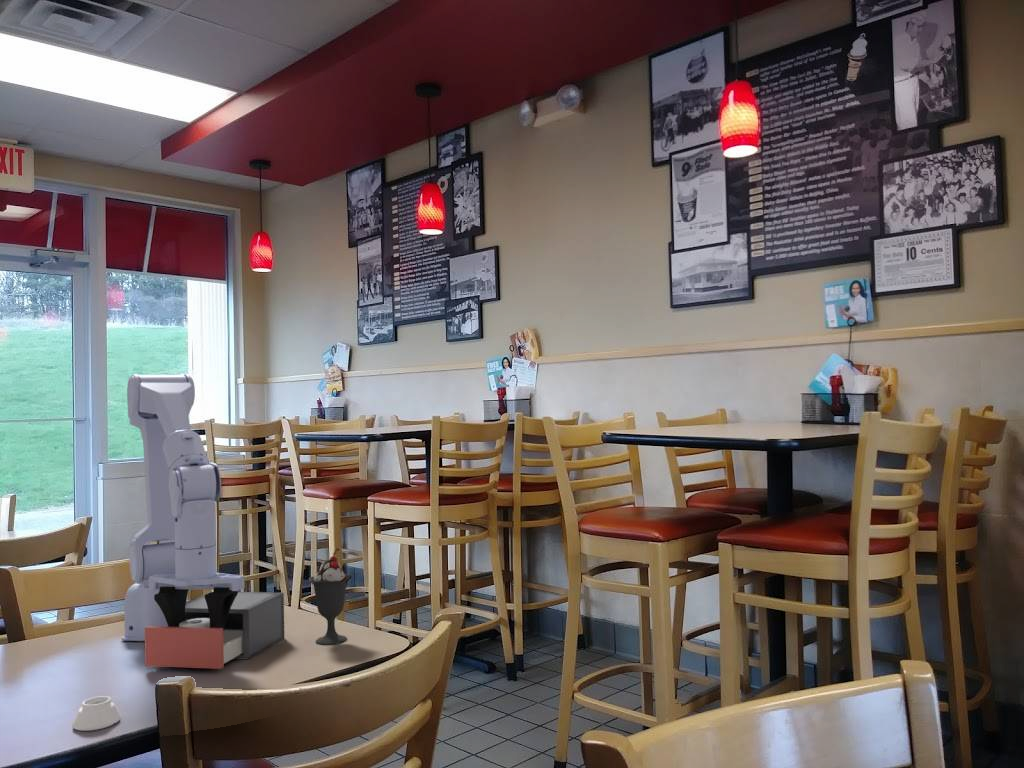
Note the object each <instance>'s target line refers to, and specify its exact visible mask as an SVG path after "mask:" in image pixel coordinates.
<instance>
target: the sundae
mask: <svg viewBox="0 0 1024 768" xmlns="http://www.w3.org/2000/svg"><path fill="white" fill-rule="evenodd" d="M339 551H340V548H339V547H336V549H335V550H334V552H333V555H332V556H330V557H329V559H327V560H325V561H324V562H319V563H318V566H317V572H316V574H315V575H314V576H310V577H309V578H308V581H309V583H310V584H312V585H313V589H314V594H315V595H314V596H315V600H316V601H315V602H316V607H317V611H318V614H320V616H321V617H323V618H324V619H326V621H327V626H326V627H327V630H326V633H325V634H324V636H321V637H318V638H317V639H316V640H315V643H316V644H317V645H322V646H332V645H337V644H338V643H339V644H342V643H344V642H346V641H347V640H348V637H347V636H345V635H342V634H339V633H337V631H336V627H335V626H336V625H335V621H336V618H337V617H339V616H340V615H341V613H342V612H343V610H344V608H345V607H344V606H345V601H346V590H347V585H348V582H349V581H350V580H351V579H352V575H351V574H345V572H344V570H343V568H342V566H341V564H340V562H338V557H337V556H336V554H337V552H339Z"/></svg>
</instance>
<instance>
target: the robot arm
mask: <svg viewBox="0 0 1024 768" xmlns="http://www.w3.org/2000/svg"><path fill="white" fill-rule="evenodd" d="M127 381H128V382H127V388H126V393H127V394H126V399H127V401H126V402H127V403H126V404H127V417H128V420H129V425H131V426H133V427H135V428H138V429H139V430H140V434H141V438H142V439H141V440H142V447H143V463H144V465H143V466H144V478H145V479H144V480H145V481H144V482H145V483H144V484H145V498H146V499H145V500H146V514H147V524H146V526H144V527H143V528H142V529H140V531H138V532H137V533H136V534H135V535H134V536H133V537H132V538H131V542H130V552H129V553H130V554H129V572H130V577H131V580H132V581H133V582H134V583H133V584H132V585H130V586H129V587H128V589H127V591H126V594H125V597H124V603H123V605H124V608H123V611H124V620H123V621H124V635H123V636H122V637H121V641H125V642H126V641H128V642H129V641H130V642H132V641H133V642H145V627H147V626H164V627H179V624H180V623H181V622H183V621H185V606H186V602H187V601H189V597H188V595H189V594H188V593H189V590H208V591H210V592H211V593H209V592H207V593H208V594H207V593H205V594H206V595H205V600H206V603H207V607H208V612H209V618H210V628H223V633H224V628H225V624H226V620H227V617H228V614H229V611H230V608H231V606H232V604H233V602H234V600H235V598H236V596H237V594H238V592H240V591H242V590H244V589H245V587H246V586H245V575H243V574H241V575H240V574H229V573H222V572H217V571H218V570H217V569H218V568H217V567H218V566H217V562H218V561H217V517H216V515H217V513H216V512H217V509H216V507H217V506H216V504H217V502H218V501H219V500H220V498H221V493H222V478H221V473H220V472H221V471H220V468H219V465H218V464H217V463H215V462H214V461H213V460H212V459H209V458H208V455H207V452H206V449H205V447H204V444H203V440H202V437H201V436H200V435H199V433H197V432H196V431H193V430H192V429H191V423H190V418H189V415H190V413H191V410H192V407H193V406H194V402H195V398H196V397H195V396H196V391H195V389H196V388H195V382H194V379H193V377H191V375H190V374H188V373H185V374H137V373H133V374H131V376H130V377H129V378H128V380H127ZM172 540H173V541H172ZM161 541H162V543H154V542H161ZM164 541H170V542H164ZM146 543H154V544H146ZM211 590H213V591H211Z"/></svg>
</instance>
